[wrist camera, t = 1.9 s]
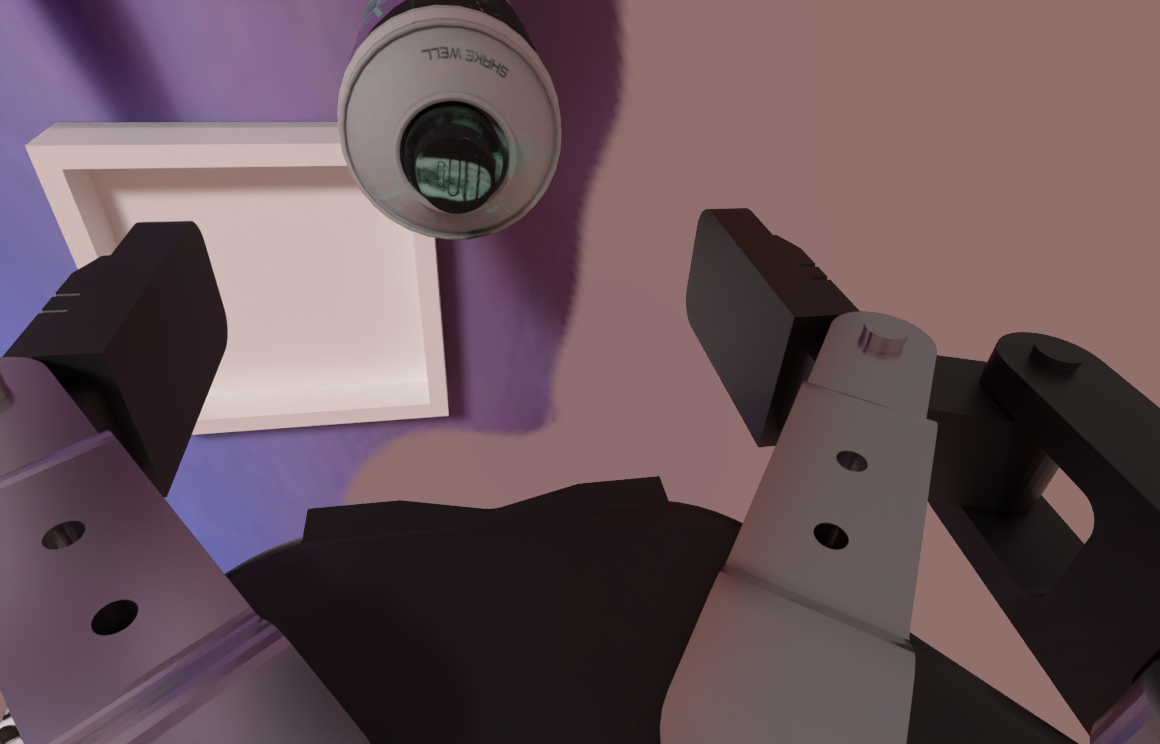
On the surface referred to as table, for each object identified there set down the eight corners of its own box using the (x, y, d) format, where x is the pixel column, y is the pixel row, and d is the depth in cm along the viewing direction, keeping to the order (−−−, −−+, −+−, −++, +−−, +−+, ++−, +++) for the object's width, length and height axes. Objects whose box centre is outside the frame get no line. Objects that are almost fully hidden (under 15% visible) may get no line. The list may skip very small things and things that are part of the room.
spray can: (523, 38, 32) (619, 228, 16) (418, 92, 32) (412, 325, 17) (466, -93, 28) (516, -14, 13) (350, -31, 29) (262, 117, 13)
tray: (55, 122, 30) (25, 145, 28) (426, 121, 33) (426, 142, 31) (166, 403, 40) (150, 437, 38) (447, 384, 43) (448, 415, 40)
